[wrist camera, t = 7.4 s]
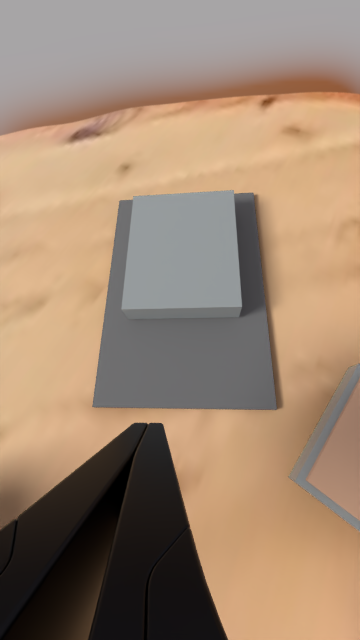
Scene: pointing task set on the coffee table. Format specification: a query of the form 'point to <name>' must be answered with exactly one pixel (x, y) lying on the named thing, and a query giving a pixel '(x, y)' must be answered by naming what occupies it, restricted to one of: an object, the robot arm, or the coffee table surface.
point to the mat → (188, 340)
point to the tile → (182, 257)
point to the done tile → (335, 453)
